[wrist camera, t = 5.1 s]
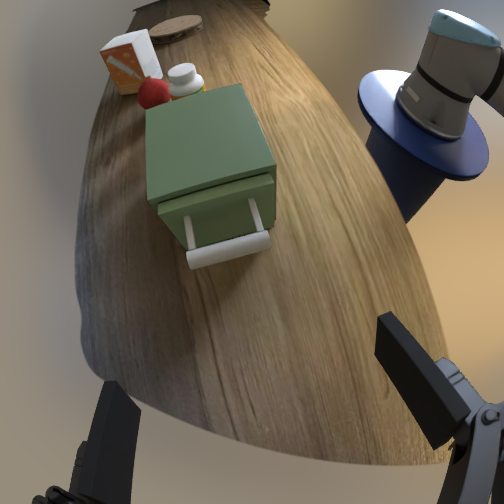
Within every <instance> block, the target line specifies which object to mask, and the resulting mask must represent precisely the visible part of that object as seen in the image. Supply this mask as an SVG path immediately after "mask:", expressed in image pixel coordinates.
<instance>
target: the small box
mask: <svg viewBox="0 0 504 504" xmlns="http://www.w3.org/2000/svg"><path fill="white" fill-rule="evenodd" d="M100 54H101V56H102V58H103V60H104V62H105V64H106V66H107V68H108V70H109V72H110V74H111V76H112V78H113V80H114V82H115V84H116V86H117V88H118V90H119V92H120V94H121V95H127V94H134V93H138V89H139V87H140V86H141V84H142V83H143V81H144V80H145V78H146V76H148V75H150V76H151V78H158V79H161V78H162V76H163V74H162V71H161V68H160V65H159V62H158V60H157V57H156V54H155V51H154V48H153V45H152V43H151V40H150V37H149V34H148V31H147V29H144V30H140V31H136V32H131V33H127V34H124V35H121V36H118V37H115V38H113V39H112V40H111V41H110V42H109V43H108V44H107V45H105V46H104V47H103V48H102V49H101V50H100Z"/></svg>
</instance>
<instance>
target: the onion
mask: <svg viewBox="0 0 504 504" xmlns="http://www.w3.org/2000/svg"><path fill="white" fill-rule="evenodd" d="M168 88H169V86H168V84H167V83H166V82H164V81H163V80H161V79H158V78H151V76H150V75H148V76H146V78H145V80H144V81H143V83H142V84H141V86H140V87H139V89H138V102H139V104H140V106H141V107H143V108H144V109H146V110H147V109H150V108H153V107H156V106H158V105H161V104H164V103H167V102H168V101H169V100H170V97H171V96H170V93H169V89H168Z"/></svg>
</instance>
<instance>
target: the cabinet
mask: <svg viewBox="0 0 504 504" xmlns="http://www.w3.org/2000/svg"><path fill="white" fill-rule="evenodd" d="M145 152H146V185H147V201H148V202H149V203H150V205H151V206H152V207H153V208H154V210H155V211H156V212H157V214H158V207H157V204H159V203H162V202H165V201H168V200H169V199H170V198H174V197H177V196H180V195H183V194H187V193H190V192H193V191H197V190H200V189H204V188H207V187H211V186H214V185H218V184H222V183H225V182H229V181H233V180H237V179H241V178H245V177H249V176H253V175H257V174H259V175H262V174H266V173H271V176H272V179H273V181H274V220H276V169H277V164H276V162H275V159H274V157H273V155H272V152H271V150H270V147H269V145H268V143H267V140H266V138H265V136H264V133H263V131H262V129H261V126H260V124H259V122H258V119H257V117H256V115H255V113H254V110H253V108H252V106H251V104H250V102H249V99H248V97H247V95H246V93H245V91H244V89H243V86H242V84H241V83H239V84H234V85H229V86H225V87H221V88H216V89H212V90H208V91H204V92H201V93H197V94H193V95H190V96H187V97H183V98H180V99H177V100H173V101H170V102H167V103H164V104H161V105H158V106H156V107H153V108H150V109H147V110H146V126H145Z"/></svg>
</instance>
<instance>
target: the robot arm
mask: <svg viewBox="0 0 504 504" xmlns="http://www.w3.org/2000/svg"><path fill="white" fill-rule="evenodd" d="M428 30H429V32H428V35H427V38H426V41H425V44H424V47H423V50H422V52H421V56H420V58H419V61H418V64H417V67H416V69H415V70H414V71H413V72H412V74H411V75H410V76H409V77H408V78H407V79H406V80H405V81H404V82H403V83H402V84H401V85H400V86H399V88H398V91H397V93H396V103H397V105H398V107H399V109H400V110H401V112H402V113H403V114H404V115H405V116H406V118H407V119H408V120H410V121H411V122H412V123H413V124H414V125H415V126H417V127H418V128H419V129H421V130H422V131H424V132H425V133H427V134H429V135H430V136H432V137H434V138H437V139H439V140H442V141H446V142H456V141H458V140H459V139H460V138H461V137H462V135H463V134H464V132H465V129H466V123H467V118H468V112H469V106H470V103H471V101H472V100H473V98H474V96H475V95H477V96H479V97H480V98H481V99H483V100H484V101H485V102H486V103H488V104H489V105H490V106H491V107H492V108H494V109H495V110H496V111H497V112H498V113H499V114H501V115H502V116H503V117H504V49H503V48H501V47H500V46H501V43H500V42H501V41H500V39H499V38H498V37H497V36H496V35H495V34H494V33H493V32H491V31H489V30H488V29H486V28H485V27H483V26H482V25H480V24H478V23H476V22H474V21H472V20H470V19H468V18H466V17H464V16H462V15H459V14H456V13H454V12H450V11H446V10H438V11H436V12H435V13H434V16H433V18H432V21H431V24H430V25H429V26H428ZM374 355H375V356H376V358H377V359H378V361H379V362H380V364H381V365H382V367H383V369H384V370H385V372H386V373H387V375H388V376H389V378H390V379H391V381H392V383H393V384H394V386H395V387H396V389H397V390H398V392H399V394H400V395H401V397H402V398H403V400H404V402H405V403H406V405H407V406H408V408H409V410H410V411H411V413H412V415H413V416H414V418H415V420H416V421H417V423H418V425H419V426H420V428H421V430H422V431H423V433H424V435H425V436H426V438H427V440H428V442H429V443H430V445H431V447H432V449H433V450H436V449H438V448H439V447H441V446H442V445H444V444H445V443H447V442H448V441H449V440H450V439H451V437H452V436H453V438H454V439H455V440H454V441H453V442H452V444H451V445H450V446H449V448H448V450H451V448H452V447H453V449H452V454H451V458H450V462H449V466H448V470H447V474H446V477H445V480H444V484H443V487H442V490H441V493H440V496H439V499H438V502H437V504H488V502H489V498H490V495H491V491H492V496H491V504H504V402H501V403H499V404H492V403H487V402H485V401H484V400H483V399H482V398H481V396H480V395H479V394H478V392H477V391H476V390H475V389H474V387H473V386H472V385H471V384H470V382H469V381H468V380H467V379H466V378H465V377H464V375H463V374H462V373H461V372H460V370H459V369H458V368H457V367H456V366H455V364H454V363H453V362H451V361H450V360H448V359H446V358H444V357H443V358H441V359H440V360H438V361H436V362H434V361H433V360H432V359H431V357H430V356H429V355H428V354H427V353H426V351H425V350H424V349H423V348H422V347H421V345H420V344H419V343H418V342H417V341H416V339H415V338H414V337H413V336H412V335H411V334H410V332H409V331H408V330H407V329H406V328H405V327H404V325H403V324H402V323H401V322H400V321H399V320H398V319H397V317H396V316H395V315H394V314H393V313H392V312H391V311H390V312H387V313H385V314H382V315H380V316H378V317H377V332H376V343H375V353H374ZM140 416H141V410H140V408H139V407H138V406H137V405H136V404H135V403H134V402H133V401H132V399H131V398H130V397H129V396H128V395H127V393H126V392H125V391H124V390H123V389H122V387H121V386H120V385H119V384H118V383H117V381H116V380H115V381H104V384H103V387H102V390H101V394H100V397H99V400H98V404H97V407H96V410H95V414H94V418H93V421H92V425H91V429H90V433H89V436H88V440H87V441H83V442H82V443H81V445H80V446H79V448H78V451H77V455H76V460H75V466H74V468H73V473H72V478H71V483H70V488H69V492H67V491H65V490H63V489H62V488H60V487H58V486H51V487H49V489H47V491H46V495H45V496H46V497H43V496H41V495H37V496H35V497H34V498H33V501H32V504H131V503H130V502H131V489H132V478H133V468H134V459H135V450H136V443H137V436H138V429H139V422H140Z"/></svg>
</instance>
